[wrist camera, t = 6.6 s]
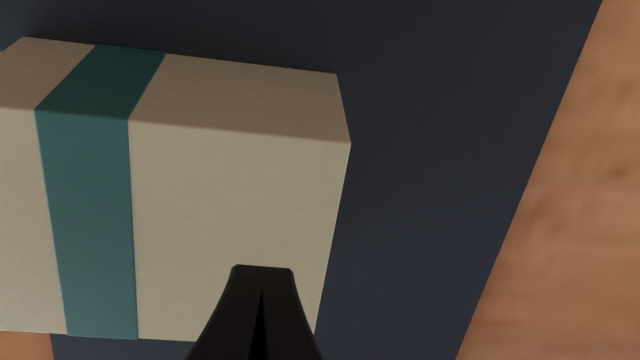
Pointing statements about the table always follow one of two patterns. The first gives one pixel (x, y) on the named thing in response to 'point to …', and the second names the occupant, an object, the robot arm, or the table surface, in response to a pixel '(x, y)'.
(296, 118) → the tea box
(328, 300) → the mat
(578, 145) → the table surface
